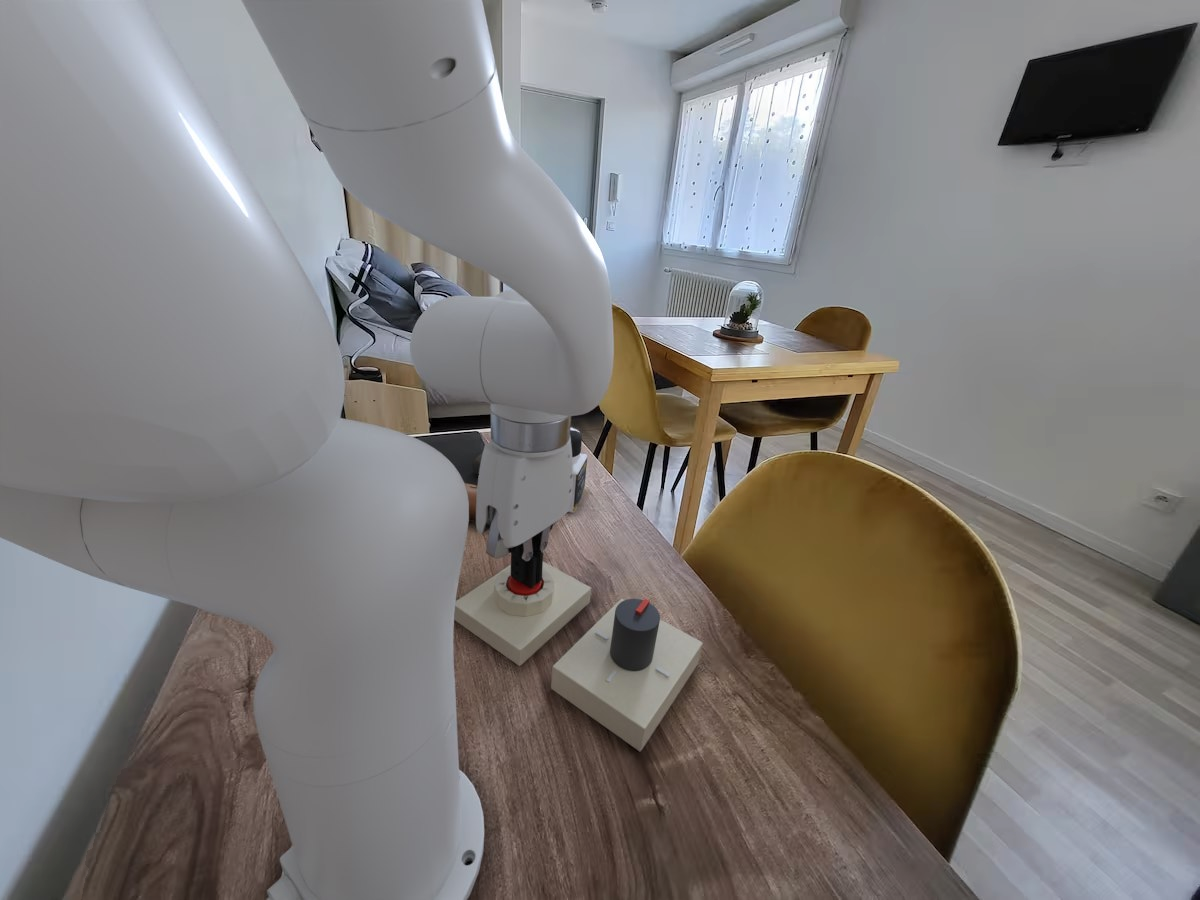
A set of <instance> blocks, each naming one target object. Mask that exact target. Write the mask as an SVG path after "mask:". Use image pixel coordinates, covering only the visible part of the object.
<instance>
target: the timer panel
mask: <svg viewBox="0 0 1200 900" xmlns="http://www.w3.org/2000/svg"><path fill="white" fill-rule="evenodd" d="M624 600H625V599H623V598H620V599H619V600H618V601H617V602H616V603H615V604H614V605H613V606H612V607H611V608H610V609H609V610H608V611H607V612H606V613H605V614H604V615H603V616H602V617H601V618H600V619H598V621H596V623H595V624H594V625H592V627H591V628H590V629H588V630H587V632H586V633H584V634H583V636H582V637H580V638H579V639H578V640H577V641H576V642H575V644H574V645H572V646H571V647H570V648H569V649H568V650H567V651H566V652H565V653H564V654H563V655H562V656H561V657H560V658H559V659H558V660H557V661H556V662H555V663H554V664H553V665H552V667H551V668H552V669H551V681H550V682H551V683H550V684H551V685H550V689H551V690H552V691H554V692H555V693H556V694H558V695H559V696H561V697H562V698H563V699H565V700H567V701H568V702H569V703H570V704H572V705H573V706H575V708H578V709H579V710H580V711H582V712H583V713H584V714H586V715H587V716H589V717H591V719H593V720H594V721H596V722H597V723H599V724H600V725H601V726H603V727H605V728H606V729H607V730H609V732H611V733H612V734H614V735H616V736H617V737H618V738H620V739H621V740H622V741H624V742H625V743H627V744H628V745H630V746H631V747H632V748H634V749H635V750H637V751H638V752H642V751H643V749H644V747H646V744H647V743H648V741H649V740H650V738H651V736H652V735H653V734H654V732H655V731H656V729H657V727H658V726H659V724H660V723H661V722H662V720H663V719H664V717H665V715H666V714H667V712H668V711H669V709H670V708H671V706H672V705H673V703H674V701H675V700H676V698H677V697H678V695H679V694H680V692H681V691H682V689H683V688H684V686H685V685H686V683H687V682H688V680H689V678H690V677H691V675H692V674H693V673H694V671H695V670H696V668H697V667H698V665H699V662H700V658H701V653H702V650H703V645H704V642H703V641H702V640H701V641H700V640H699V639H697V638H695V637H693V636H692V635H690V634H688V633H686V632H684V631H682V630H680V629H679V628H676V627H674V626H673V625H672V624H670V623H668V622H665V620H662V619H660V622H659V627H658V633H657V638H656V643H655V649H654V654H653V659H652V662H651V664H650V665H649V666H648V667H647V668H645V669H643V670H640V671H629V670H625V669H623V668H621V667H619V666H618V665H617V664H616V663H615V662H614V661H613V660H612V658H611V655H610V646H611V639H612V631H613V624H614V617H615V610H616V607H617V606H618V604H619V603H621V602H622V601H624Z"/></svg>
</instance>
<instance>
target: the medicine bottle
mask: <svg viewBox="0 0 1200 900" xmlns="http://www.w3.org/2000/svg"><path fill="white" fill-rule="evenodd" d="M570 439H571V447H572V462H573V482H572V496H571V503H570V508H569V510H568V512H567V513H571V514H572V513H573V514H574V513H575V512H576V509H577V508H578V505H579V503H580V501H581V499H582V497H583V495H584V493H585V487H586V475H587V464H588V454H586V453H582V445H583V444H582V443H583V435H582V433H581V431H579V430H578V429H577V428H574V427H572V426H571V427H570Z"/></svg>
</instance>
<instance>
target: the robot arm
mask: <svg viewBox="0 0 1200 900" xmlns="http://www.w3.org/2000/svg"><path fill="white" fill-rule="evenodd" d="M241 2H242V4H243V6H244V8H245V10H246V12H247V14H248V15H249V17H250V19H251V21H252V23H253V25H254V27H255V29H256V31H257V32H258V34H259V36H260V38H261V39H262V41H263V43H264V45H265V47H266V49H267V50H268V52H269V54H270V57H271V58H272V60H273V62H274V64H275V66H276V67H277V69H278V71H279V73H280V74H281V77H282V79H283V80H284V82H285V84H286V86H287V88H288V90H289V91H290V93H291V95H292V97H293V99H294V101H295V103H296V104H297V106H298V109H299V110H300V113H301V114H302V116H303V118H304V120H305V122H306V124H307V125H308V127H309V129H310V131H311V133H312V135H313V136H314V138H315V141H316V142H317V144H318V146H319V148H320V149H321V152H322V154H323V156H324V157H325V160H326V162H327V163H328V165H329V168H330V169H331V171H332V172H333V174H334V176H335V178H336V179H337V180H338V182H339V183H340V185H341V186H342V187H343V188H344V189H345V190H346V192H347V193H348V194H350V195H351V196H352V197H353V198H354V199H355V200H357V201H358V202H359V203H360V204H361V205H363V206H364V207H366V208H367V209H369V210H370V211H372V212H374V213H375V214H377V215H379V217H381V218H383V219H385V220H386V221H388V222H389V223H392V224H394V225H396V226H397V227H399V228H400V229H402V230H404V231H406V232H408V233H409V234H411V235H413V236H415V237H417V239H420V240H421V241H423V242H425V243H427V244H429V245H431V246H433V247H435V248H437V249H439V250H441V251H443V252H446V253H447V254H450V255H451V256H454V257H456V258H458V259H460V260H461V261H464V262H466V263H468V264H470V265H471V266H473V267H475V268H477V269H478V270H481V271H483V272H484V273H486V274H488V275H490V276H491V277H493V278H494V279H497V280H498V281H500V282H501V283H503V284H504V285H505V286H507V287H508V288H510V289H508V290H504V291H500V292H499V293H497V295H495V296H474V295H461V294H460V295H452V296H448V297H444V298H442V299H439V300H437V301H435V302H434V303H432V304H431V305H430V306H428V307H427V308H426V309H425V310H424V311H423V312H422V313H421V315H420V316H419V317H418V319H417V320H416V322H415V324H414V326H413V329H412V332H411V337H410V343H409V353H410V359H411V363H412V365H413V368H414V370H415V372H416V374H417V375H418V377H419V378H420V379H421V380H422V382H423V383H425V385H427V386H428V387H430V389H433V390H435V391H436V392H438V393H441V394H443V395H446V396H449V397H453V398H457V399H462V400H468V401H474V402H480V403H486V404H490V441H489V442H487V443H486V444H485V445H484V447H483V451H482V452H483V454H482V459H481V464H480V469H479V475H477V476H478V478H477V485H476V486H477V500H476V522H475V527H476V531H477V533H479V534H481V535H484V534H486V533H488V537H487V543H486V548H485V553H486V554H487V555H489V557H491V558H493V559H495V560H498V559H501V558H503V557H506V556H508V555H509V554H510V565H511V576H512V578H514V579H515V580H517V581H518V582H520V583H522V584H524V585H526V586H527V587H529V588H532V587H534V586H535V584H536V583H539V582H540V581H541V580H542V566H543V562H544V552H543V551H545V550H546V549H547V547H548V544H549V537H550V532H551V531H552V529H553V528H554V526H555V524H556V523H558V522H559V521H560V519H563V518H564V517H565V515H567V513H569V512H568V510H569V508H570V503H571V496H572V482H573V462H572V447H571V439H570V427H571V428H572V417H575V416H582V415H585V414H587V413H590V412H591V411H593V410H594V409H595V408H597V407H598V406H599V405H600V404H601V402H602V401H603V400H604V398H605V396H606V394H607V392H608V389H609V387H610V384H611V380H612V377H613V376H612V375H613V369H614V358H615V355H614V354H615V338H614V319H613V302H612V289H611V282H610V277H609V272H608V267H607V265H606V262H605V260H604V257H603V254H602V251H601V249H600V247H599V245H598V243H597V242H596V240H595V237H594V236H593V234H592V233H591V231H590V230H589V228H588V226H587V224H585V222H584V220H583V219H582V217H581V216H580V214H579V213H578V212H577V210H576V209H575V208H574V206H573V205H572V203H571V202H570V200H569V199H568V198H567V197H566V195H565V194H564V192H563V191H562V190H561V189H560V187H558V185H557V183H555V182H554V181H553V179H552V178H551V177H550V176H549V175H548V174H547V173H546V172H545V171H544V169H543V168H542V167H541V166H540V165H539V164H538V163H536V161H535V160H534V159H532V157H531V156H530V155H529V154H528V153H527V152H526V151H525V150H524V149H523V148H522V146H521V145H520V144H519V142H518V141H517V140H516V139H515V136H514V135H513V132H512V130H511V128H510V126H509V122H508V119H507V114H506V112H505V106H504V101H503V95H502V90H501V85H500V80H499V75H498V74H499V73H498V69H497V63H496V60H495V55H494V50H493V46H492V45H493V44H492V40H491V35H490V31H489V27H488V23H487V17H486V12H485V8H484V3H483V0H241ZM344 367H345V366H344V361H343V356H342V352H341V347H340V346H339V343H338V340H337V338H336V335H335V332H334V329H333V326H332V323H331V321H330V318H329V316H328V314H327V311H326V309H325V307H324V305H323V302H322V301H321V299H320V297H319V295H318V293H317V291H316V289H315V288H314V286H313V284H312V281H310V278H309V277H308V275H307V273H306V272H305V269H304V268H303V266H302V264H301V263H300V261H299V259H298V258H297V256H296V254H295V252H294V250H293V249H292V247H291V246H290V244H289V242H288V241H287V239H286V237H285V235H284V234H283V231H282V230H281V229H280V226H279V225H278V224H277V222H276V220H275V218H274V217H273V215H272V213H271V212H270V210H269V208H268V206H267V204H266V203H265V201H264V200H263V198H262V196H261V195H260V193H259V191H258V189H257V188H256V186H255V184H254V182H253V181H252V179H251V178H250V176H249V173H248V172H247V171H246V169H245V167H244V165H243V164H242V162H241V161H240V159H239V157H238V156H237V153H236V152H235V149H234V148H233V147H232V145H231V143H230V141H229V139H228V138H227V136H226V134H225V133H224V132H223V130H222V128H221V126H220V125H219V122H218V121H217V119H216V118H215V116H214V115H213V113H212V111H211V109H210V108H209V106H208V105H207V103H206V101H205V99H204V97H203V96H202V94H201V92H200V90H199V89H198V87H197V85H196V84H195V82H194V80H193V79H192V77H191V75H190V74H189V72H188V70H187V68H186V66H185V65H184V63H183V62H182V59H181V58H180V56H179V55H178V53H177V51H176V50H175V48H174V46H173V43H172V42H171V41H170V39H169V38H168V36H167V34H166V33H165V31H164V29H163V28H162V26H161V24H160V22H159V21H158V19H157V17H156V16H155V14H154V12H153V10H152V9H151V6H150V5H149V4H148V2H147V0H0V539H2V540H5V541H8V542H9V543H12V544H14V545H16V546H19V547H20V548H21V547H22V548H23V549H26V550H28V551H30V552H32V553H35V554H37V555H40V556H42V557H44V558H47V559H48V560H52V561H53V562H56V563H58V564H61V565H63V566H66V567H68V568H71V569H73V570H74V571H78V572H80V573H83V574H86V575H88V576H91V577H93V578H96V579H98V580H102V581H104V582H105V581H106V582H109V583H111V584H114V585H118V586H121V587H125V588H129V589H132V590H134V591H138V592H142V593H145V594H149V595H152V596H156V597H160V598H163V599H166V600H169V601H173V602H176V603H177V602H178V603H181V604H183V605H187V606H192V607H195V608H198V609H200V610H202V611H204V612H207V613H210V614H212V615H216V616H219V617H222V618H226V619H230V620H233V621H236V622H238V623H241V624H244V625H246V626H248V627H251V628H253V629H255V630H257V632H259V633H261V634H263V635H264V636H265V637H266V638H267V639H268V640H269V641H270V642H271V645H273V647H274V649H275V650H274V651H273V652H272V654H271V655H270V656H269V658H268V659H267V661H266V662H265V664H264V665H263V667H262V668H261V671H260V673H259V676H258V678H257V681H256V683H255V688H254V693H253V715H254V716H253V717H254V722H255V726H256V730H257V735H258V737H259V741H260V744H261V749H262V750H263V753H264V756H265V758H266V762H267V765H268V769H269V772H270V775H271V778H272V782H273V785H274V789H275V792H276V795H277V798H278V802H279V805H280V808H281V812H282V816H283V819H284V822H285V826H286V828H287V832H288V835H289V839H290V842H291V846H290V847H289V848H288V849H287V850H286V851H285V852H284V853H282V855H281V856H280V857H279V863H280V866H281V869H282V870H281V871H282V872H281V876H280V877H279V878H278V879H277V881H275V882H274V883H273V884H272V885H271V886H270V887H269V888H268V889H267V890H266V894H267V896H268V897H267V898H266V899H265V900H469V897H470V896H471V894H472V890H473V888H474V886H475V883H476V880H477V879H478V875H479V873H480V868H481V865H482V859H483V855H484V850H485V849H484V846H485V818H484V817H485V816H484V811H483V808H482V803H481V799H480V797H479V794H478V792H477V790H476V788H475V786H474V784H473V783H472V781H471V780H470V779H469V777H468V775H466V774H465V772H464V771H462V770H461V769H460V762H459V761H460V760H459V759H460V758H459V739H458V737H459V736H458V718H457V716H458V715H457V697H456V696H457V695H456V693H457V692H456V680H455V679H456V678H455V658H454V657H455V656H454V653H455V652H454V631H455V630H454V629H455V620H454V611H455V602H456V601H457V592H458V586H459V580H460V575H461V569H462V566H463V565H462V564H463V559H464V554H465V549H466V544H467V543H466V542H467V539H468V530H469V523H470V520H469V501H468V494H467V490H466V487H465V484H464V483H465V481H464V479H463V477H462V476H461V474H460V472H459V471H458V469H457V468H456V466H455V465H454V464H453V463H452V462H451V461H450V459H448V458H447V457H446V456H445V455H444V454H443V453H442V452H440V451H439V450H438V449H436V448H435V447H433V446H431V445H430V444H428V443H427V442H424V441H422V440H420V439H419V438H416V437H414V436H412V435H408V434H406V433H403V432H401V431H398V430H395V429H391V428H387V427H385V426H380V425H376V424H372V423H367V422H363V421H358V420H354V419H348V418H343V417H341V415H342V410H343V407H344V402H345V392H346V381H345V380H346V379H345V368H344ZM468 862H471V863H470V864H468V865H467V863H468Z"/></svg>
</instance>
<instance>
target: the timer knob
mask: <svg viewBox="0 0 1200 900" xmlns="http://www.w3.org/2000/svg"><path fill="white" fill-rule="evenodd" d="M623 600H624V601H622V602H621V603H619V604H618V606H617V607H616V610H615V617H614V624H613V631H612V639H611V646H610V655H611V658H612V660H613V661H614V662H615V663H616V664H617V665H618V666H619V667H621V668H623V669H625V670H629V671H640V670H643V669H645V668H647V667H648V666H649V665H650V664H651V662H652V659H653V654H654V649H655V643H656V638H657V633H658V627H659V622H660V620H661V615H660V612H659V610H658V608H657V607H656V606H655V605H653V603H650V602H651V600H650V599H648V598H646V597H644V599H640V598H628V599H623Z"/></svg>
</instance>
